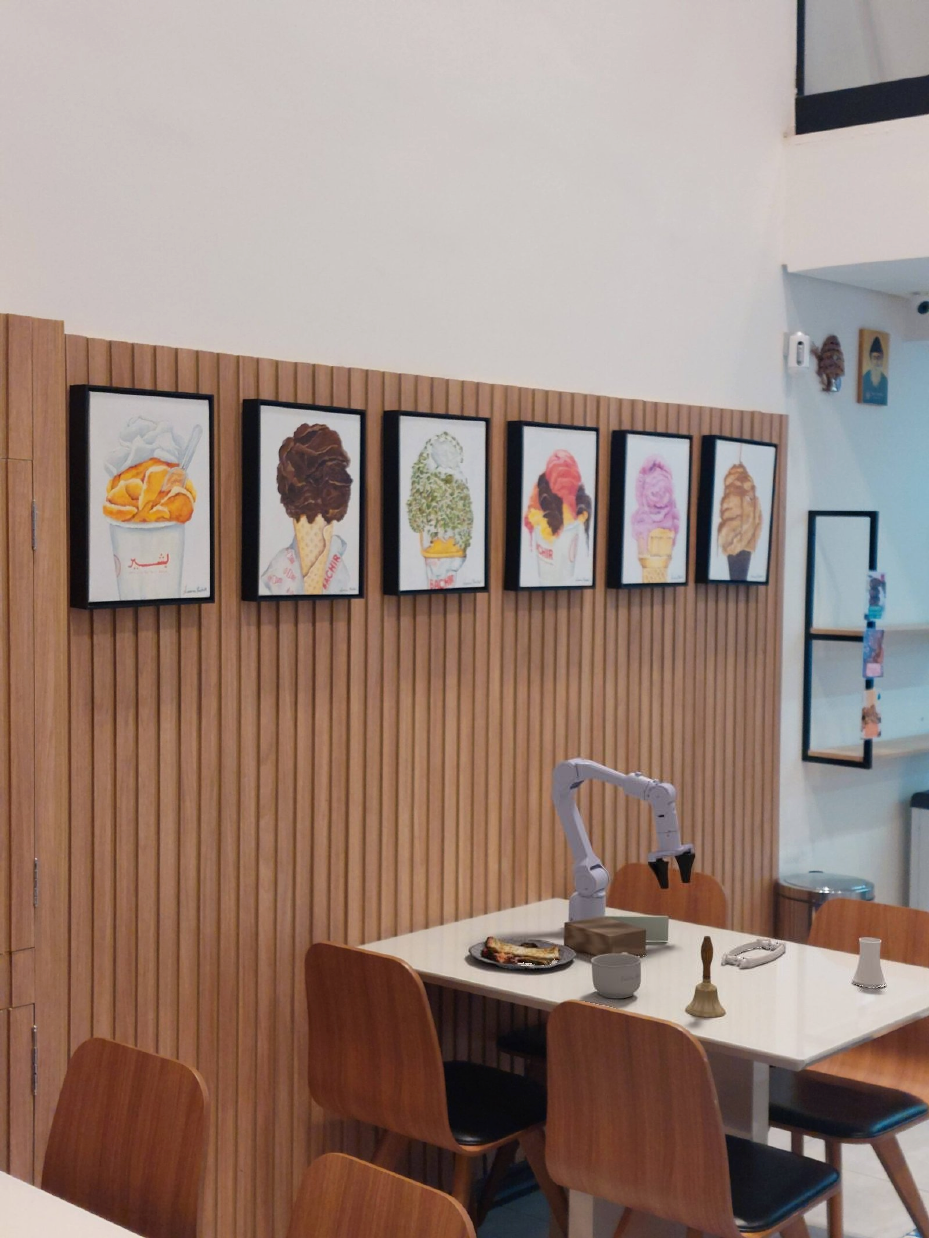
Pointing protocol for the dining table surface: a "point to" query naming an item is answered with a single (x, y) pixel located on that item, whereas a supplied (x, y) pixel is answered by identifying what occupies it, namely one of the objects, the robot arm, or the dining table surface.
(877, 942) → the cooling tower model
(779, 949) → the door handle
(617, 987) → the teacup
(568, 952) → the food plate
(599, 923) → the brown wooden block
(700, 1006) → the hand bell
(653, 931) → the cabinet door
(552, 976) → the dining table surface
